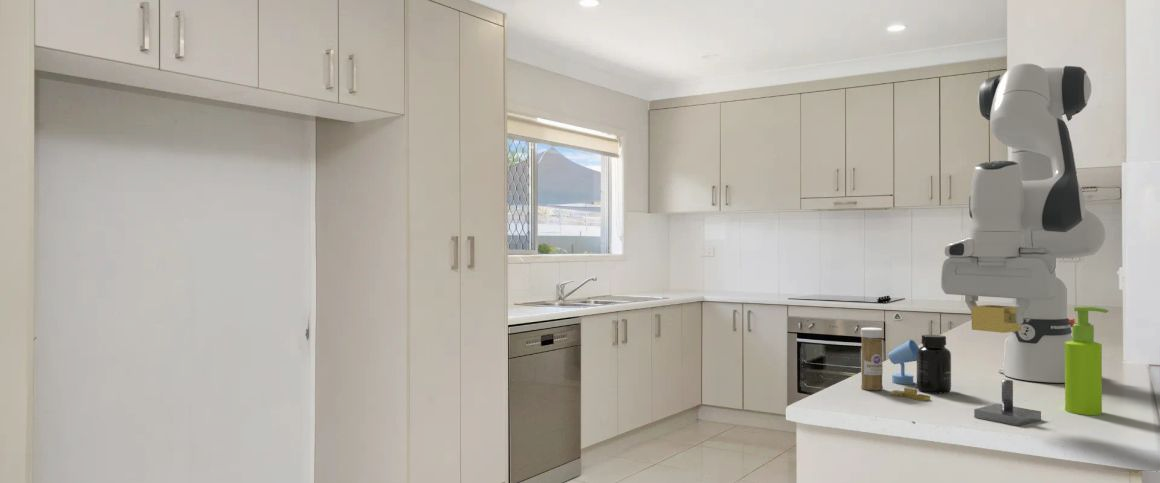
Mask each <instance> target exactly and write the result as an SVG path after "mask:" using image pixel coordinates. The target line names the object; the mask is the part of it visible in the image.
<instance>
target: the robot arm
mask: <svg viewBox="0 0 1160 483" xmlns="http://www.w3.org/2000/svg"><path fill="white" fill-rule="evenodd" d="M1091 94H1092V82H1091V80H1090V77H1089V76H1088V73H1087V70H1085V69H1084V68H1083V67H1081V66H1073V65H1064V67H1041V66H1040V65H1037V64H1034V63H1020V64H1017V65H1014V66H1012V67H1011V68H1009V69H1007V70H1006V71H1005V72H1004V73H1003V75H1000V74H998V75H995V76H992V77H988V78H986V79H985V80H984V81H983V82H982V83H981V84H980V86H979V89H978V93H977V101H976V102H977V107H978V109H979V111H980V114H981V116H982V117H983V118H985V120H987V121H990V122H989V123H990V125H989V126H990V130H991V133H992V134H993V136H994V137H995V138H996V139H997V140H998V141H1000V142H1001V143H1002V144H1004V145H1005V146H1007V147H1009V148H1011V160H998V161H996V160H995V161H989V162H987V161H986V162H981V163H979V164H977V165H976V166H975V167H974V168H973V173H972V178H971V183H970V184H971V185H970V186H971V187H970V195H969V199H968V202H969V204H968V205H969V206H968V207H969V213H968V214H969V217H970V219H972V222H971V225H970V231H969V232H970V234H969V235H970V236H969V237H968V238H965V239H962V240H959V241H957V242H954V243H949V244H948V245H946V246H945V247H944V252H943V253H944V255H945V256H946V257H947V258H945V260H944V261H943V263H942V268H941V281H940V287H941V289H942V292H943V293H944V294H945V295H955V296H964V302H965V303H966V306H967V307H968V308H969V310H970V318H971V320H972V306H978V304H977V302H978V301H979V297H986V298H1001V299H1002V298H1005V299H1006V298H1007V299H1011V306H1014V307H1018V309H1017V311H1016V312H1015V313H1012V314H1010V318H1011V319H1010V322H1011V323H1015V324H1021V331H1015V332H1010V334H1009V336H1008V337H1006V338H1005V340H1004V351H1003V352H1004V354H1003V363H1002V364H1003V365H1002V366H1000V367H998V373H1000V374H1004V376H1005V377H1009V378H1012V379H1017V380H1024V381H1030V382H1039V383H1053V384H1054V383H1055V384H1056V383H1057V384H1058V383H1062V384H1063V383H1064V384H1065V342H1067V341H1073V335H1072V334H1073V330H1072V328H1073V324H1075V323H1077V321H1076V319H1075V318H1069V317H1068V290H1067V286H1066V284H1065V282H1063V281H1062V279H1060V278H1059V277H1057V274H1056V267H1057V259H1077V258H1084V257H1089V256H1094V255H1095V254H1097V253H1098V252H1099V251H1100V249H1101V248H1102V247H1103V245H1104V242H1105V239H1106V229H1105V226H1104V224H1103V222H1102V220H1101V219H1100V218H1099V217H1098V216H1097V215H1096V214H1095V213H1093V212H1091V211H1090V210H1088V209H1087V208H1086V201H1085V200H1086V199H1085V196H1084V193H1083V189H1082V188H1081V186H1080V183H1079V180H1078V175H1077V173H1078V172H1077V166H1076V161H1075V160H1076V159H1075V155H1074V148H1073V144H1072V141H1071V135H1070V131H1069V128H1068V125H1067V124H1066V122H1065V121H1064V119H1063V115H1065V117H1066V119H1067V122H1069V121H1071V120H1072V118H1073V116H1075V115H1078V114H1079V113H1080V112H1082V111H1083V110H1084V109H1085V108H1086V107H1087V105H1088V102H1089V100H1090V97H1091Z"/></svg>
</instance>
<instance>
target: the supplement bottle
mask: <svg viewBox="0 0 1160 483" xmlns="http://www.w3.org/2000/svg"><path fill="white" fill-rule="evenodd" d="M920 342H921V344H922V346H919V349H918V350H917V361H916V389H917V390H918V391H920V392H922V393H923V392H924V393H928V394H929V393H930V394H949V393H950V392H951V391H952V353H951V351H950V350H949V349H948V348H947V347H946V345H947V336H945V335H940V334H922V335H921V341H920Z"/></svg>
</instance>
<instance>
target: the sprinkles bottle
mask: <svg viewBox="0 0 1160 483" xmlns="http://www.w3.org/2000/svg"><path fill="white" fill-rule="evenodd" d="M883 336H884V331H883V328H881V327H874V326H873V327H871V326H870V327H861V329H860V338H861V339H860V340H861V350H860V354H861V355H860V360H861V362H860V364H861V366H860V367H861V368H860V369H861V370H860V372H861V389H863V390H864V391H875V392H876V391H882V390H883V389H884V388H883V371H884V370H883Z"/></svg>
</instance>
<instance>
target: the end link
mask: <svg viewBox="0 0 1160 483" xmlns="http://www.w3.org/2000/svg"><path fill="white" fill-rule="evenodd" d="M1017 309H1018V307H1014V306H1012V305H999V304H984V305H977V306H972V319H971V331H972V330H973V331H981V332H982V331H983V332H990V333H1001V334H1005V333H1012V332H1015V331H1021V324H1015V323H1011V322H1010V319H1011V318H1010V314H1012V313H1015V312H1016V311H1017Z"/></svg>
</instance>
